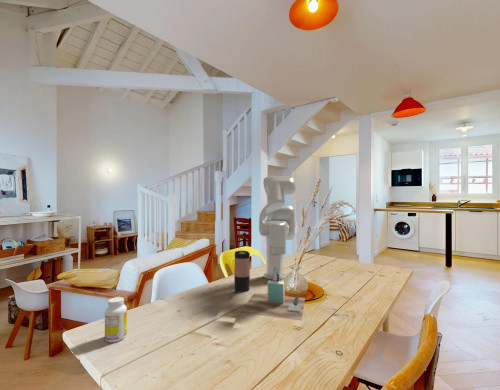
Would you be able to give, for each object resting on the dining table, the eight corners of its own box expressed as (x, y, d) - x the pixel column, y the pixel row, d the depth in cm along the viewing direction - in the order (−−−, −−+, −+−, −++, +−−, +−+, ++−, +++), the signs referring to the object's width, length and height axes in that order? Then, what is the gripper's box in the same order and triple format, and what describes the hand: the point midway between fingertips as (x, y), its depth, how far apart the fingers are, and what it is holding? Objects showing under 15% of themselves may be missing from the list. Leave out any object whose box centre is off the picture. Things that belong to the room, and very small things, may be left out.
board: (254, 296, 125) (254, 292, 125) (305, 301, 119) (305, 298, 119) (240, 316, 104) (240, 312, 104) (301, 324, 98) (301, 320, 98)
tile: (269, 298, 117) (268, 280, 116) (284, 300, 115) (284, 281, 114) (268, 301, 115) (267, 282, 114) (283, 303, 113) (283, 284, 112)
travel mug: (231, 293, 129) (231, 252, 129) (239, 288, 135) (239, 250, 136) (244, 296, 125) (245, 254, 125) (252, 291, 132) (252, 251, 132)
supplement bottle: (121, 330, 92) (121, 294, 92) (130, 337, 88) (130, 298, 88) (101, 338, 87) (101, 299, 87) (109, 345, 83) (110, 305, 83)
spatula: (291, 297, 120) (291, 295, 120) (302, 298, 119) (302, 296, 119) (287, 310, 106) (287, 308, 106) (300, 312, 104) (300, 309, 104)
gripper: (272, 246, 126) (272, 285, 126) (265, 252, 112) (265, 296, 112) (287, 247, 124) (287, 286, 124) (283, 254, 110) (283, 297, 110)
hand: (277, 290), depth 118 cm, fingers closed
